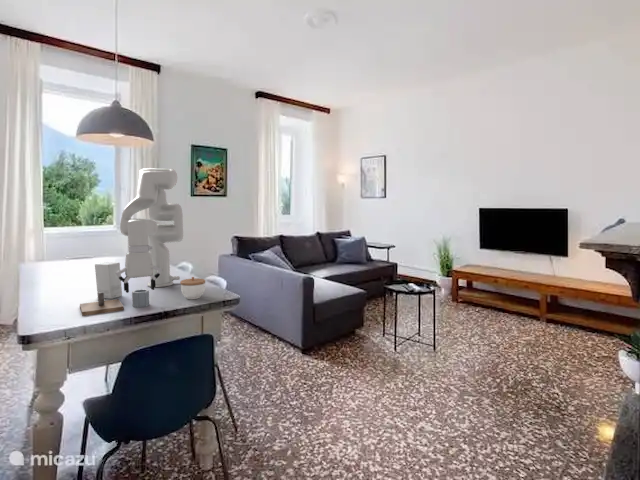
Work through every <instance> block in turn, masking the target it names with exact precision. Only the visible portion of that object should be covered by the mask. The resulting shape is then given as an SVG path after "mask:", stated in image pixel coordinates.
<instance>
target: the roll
mask: <svg viewBox="0 0 640 480" xmlns="http://www.w3.org/2000/svg"><path fill="white" fill-rule="evenodd" d="M131 297H132V298H131V299H132V307H133V308H142V307H143V308H144V307H148V306H149V305H150V290H149V289H142V288H141V289H135V290H133V291H131Z"/></svg>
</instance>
